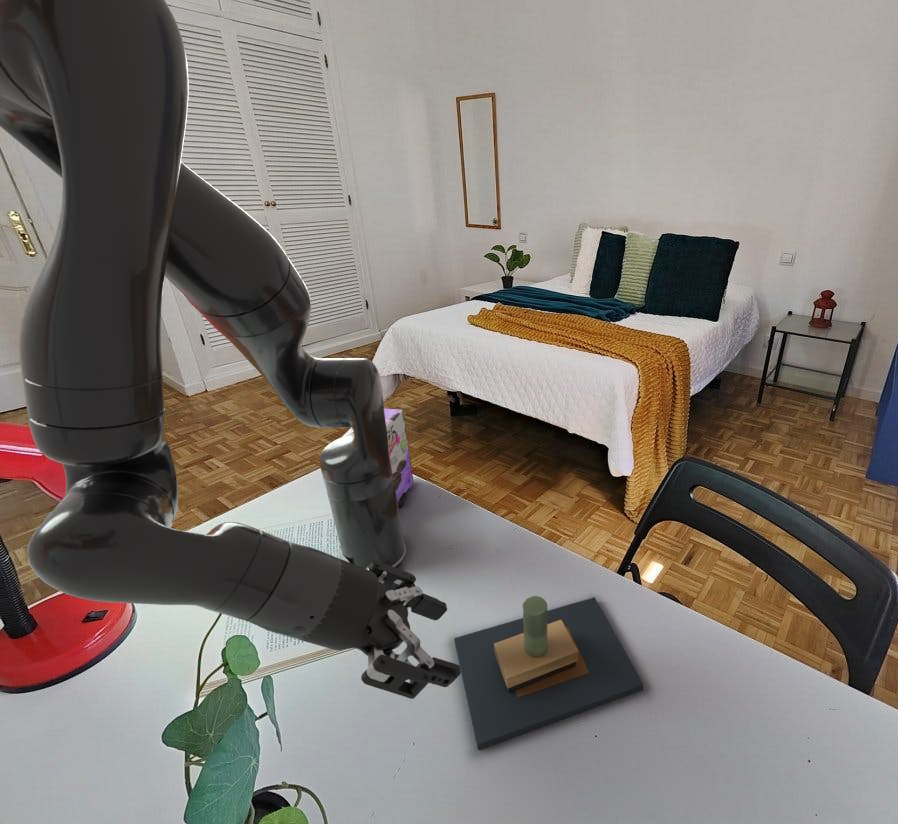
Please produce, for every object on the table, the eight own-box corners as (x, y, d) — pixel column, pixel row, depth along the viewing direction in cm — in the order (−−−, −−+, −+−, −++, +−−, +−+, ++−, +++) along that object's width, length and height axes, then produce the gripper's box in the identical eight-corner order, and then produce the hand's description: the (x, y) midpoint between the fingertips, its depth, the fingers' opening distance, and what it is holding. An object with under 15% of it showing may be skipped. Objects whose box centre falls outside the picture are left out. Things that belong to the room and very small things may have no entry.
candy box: (379, 529, 84) (363, 447, 77) (348, 525, 85) (329, 443, 78) (415, 483, 96) (404, 408, 89) (387, 480, 97) (374, 405, 90)
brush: (494, 659, 61) (490, 601, 56) (561, 635, 64) (561, 578, 60) (508, 695, 57) (504, 636, 52) (577, 667, 60) (580, 609, 56)
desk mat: (454, 643, 64) (454, 637, 64) (594, 601, 70) (594, 596, 70) (477, 750, 53) (477, 744, 52) (643, 689, 59) (644, 683, 58)
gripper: (337, 628, 40) (485, 675, 48) (339, 519, 51) (458, 573, 60) (280, 691, 40) (436, 726, 49) (295, 570, 52) (419, 615, 61)
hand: (448, 642), depth 55 cm, fingers open, 8 cm apart
